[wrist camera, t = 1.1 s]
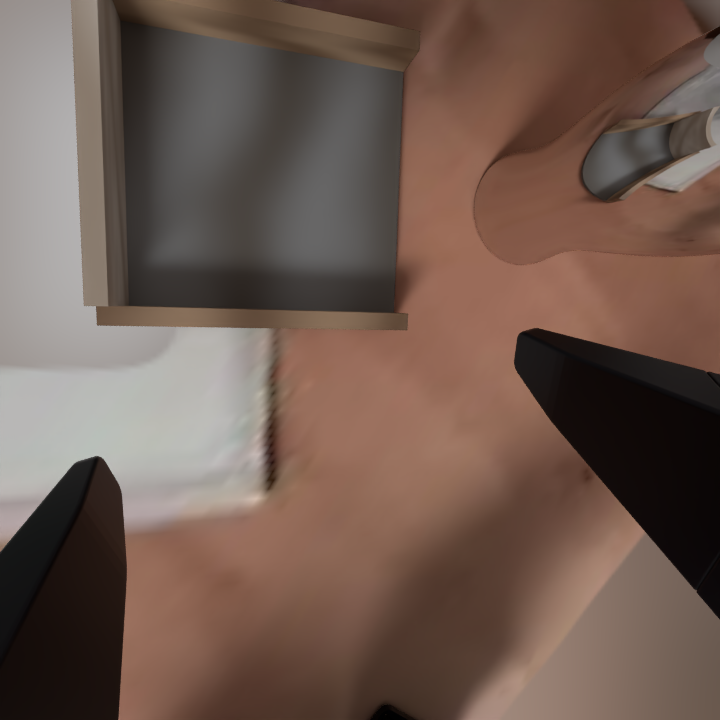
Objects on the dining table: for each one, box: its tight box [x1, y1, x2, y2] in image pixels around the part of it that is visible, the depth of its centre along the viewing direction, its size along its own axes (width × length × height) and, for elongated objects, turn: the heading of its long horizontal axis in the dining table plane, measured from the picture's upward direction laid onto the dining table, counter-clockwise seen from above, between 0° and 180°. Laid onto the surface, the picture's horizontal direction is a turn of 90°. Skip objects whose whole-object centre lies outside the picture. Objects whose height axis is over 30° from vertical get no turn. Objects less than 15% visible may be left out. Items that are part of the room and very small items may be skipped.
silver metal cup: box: [474, 26, 720, 265], centre depth 18 cm, size 7×7×15 cm
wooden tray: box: [71, 0, 420, 330], centre depth 20 cm, size 13×13×4 cm
